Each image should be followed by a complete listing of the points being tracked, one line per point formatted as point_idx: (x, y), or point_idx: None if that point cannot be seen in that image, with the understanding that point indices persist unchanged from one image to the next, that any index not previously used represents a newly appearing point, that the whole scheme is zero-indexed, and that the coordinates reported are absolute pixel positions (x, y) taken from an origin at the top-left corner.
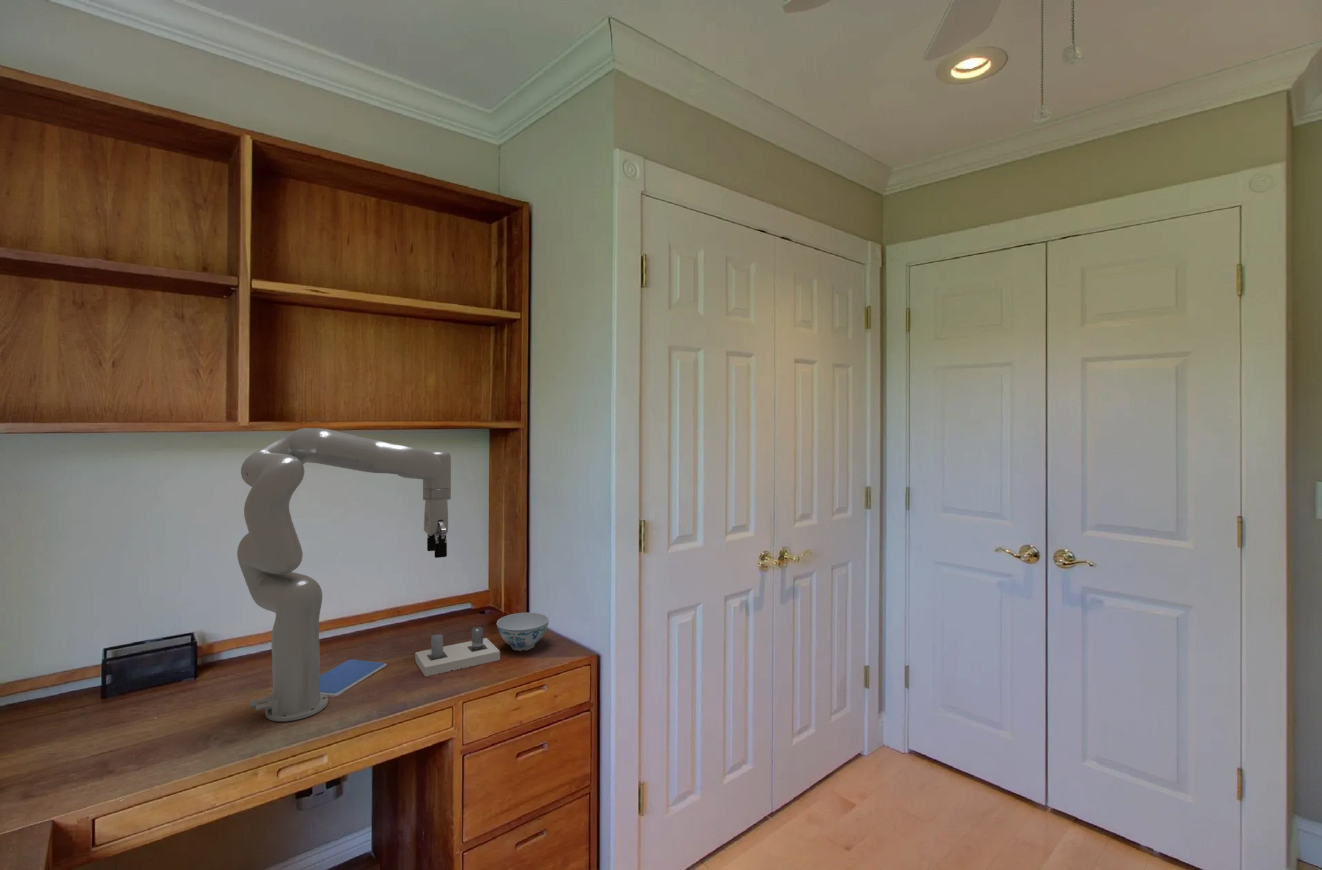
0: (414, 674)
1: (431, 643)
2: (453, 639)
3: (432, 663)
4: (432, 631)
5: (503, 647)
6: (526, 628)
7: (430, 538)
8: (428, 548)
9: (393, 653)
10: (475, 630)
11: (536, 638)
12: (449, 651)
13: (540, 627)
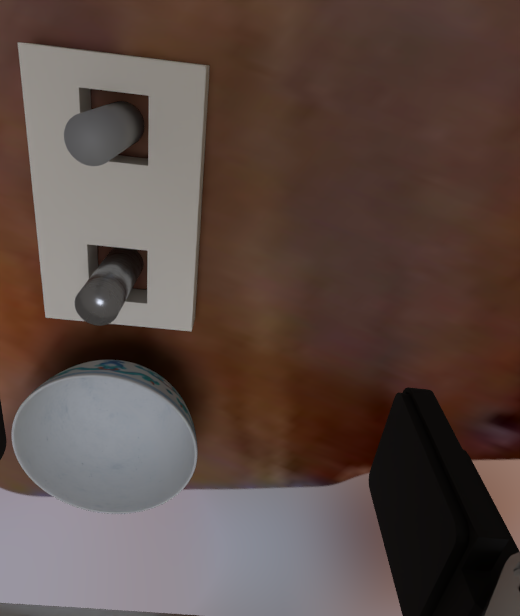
0: (79, 15)
1: (94, 109)
2: (331, 258)
3: (44, 83)
4: (468, 229)
5: (155, 350)
6: (172, 445)
7: (442, 553)
8: (405, 412)
9: (353, 15)
10: (79, 293)
11: (46, 430)
12: (136, 183)
13: (24, 464)
